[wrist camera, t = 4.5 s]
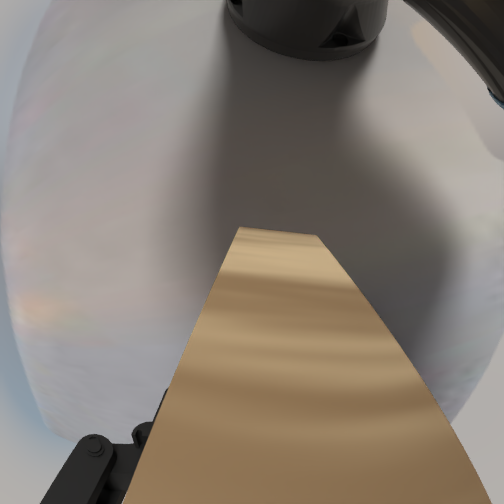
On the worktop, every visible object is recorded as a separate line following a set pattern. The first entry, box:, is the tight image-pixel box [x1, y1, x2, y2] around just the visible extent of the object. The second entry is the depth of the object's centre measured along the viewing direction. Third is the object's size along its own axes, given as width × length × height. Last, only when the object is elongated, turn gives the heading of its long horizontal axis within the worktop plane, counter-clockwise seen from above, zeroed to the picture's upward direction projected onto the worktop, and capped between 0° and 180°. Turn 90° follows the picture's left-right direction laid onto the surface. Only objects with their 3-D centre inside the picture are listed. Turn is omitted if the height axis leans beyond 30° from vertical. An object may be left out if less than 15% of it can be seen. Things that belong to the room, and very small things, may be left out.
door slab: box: [123, 227, 492, 504], centre depth 10 cm, size 12×4×14 cm, turn 175°
